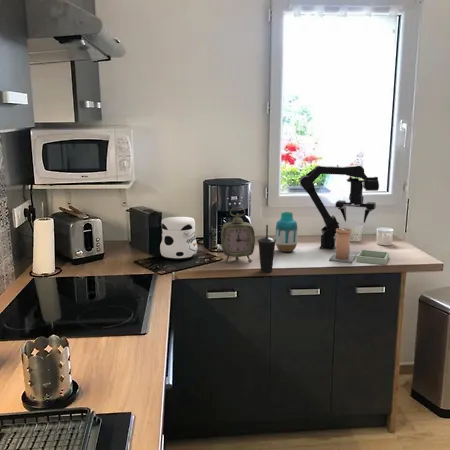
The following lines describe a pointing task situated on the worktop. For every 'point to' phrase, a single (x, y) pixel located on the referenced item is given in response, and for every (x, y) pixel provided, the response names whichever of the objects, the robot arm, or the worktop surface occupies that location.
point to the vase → (286, 232)
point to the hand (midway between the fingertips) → (354, 222)
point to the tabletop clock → (237, 238)
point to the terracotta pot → (343, 243)
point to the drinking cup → (266, 252)
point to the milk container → (178, 238)
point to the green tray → (373, 259)
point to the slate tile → (342, 259)
